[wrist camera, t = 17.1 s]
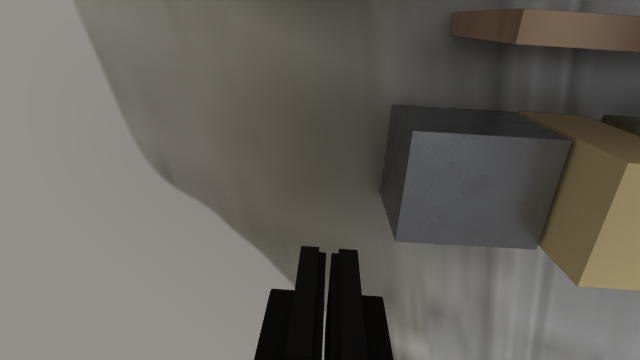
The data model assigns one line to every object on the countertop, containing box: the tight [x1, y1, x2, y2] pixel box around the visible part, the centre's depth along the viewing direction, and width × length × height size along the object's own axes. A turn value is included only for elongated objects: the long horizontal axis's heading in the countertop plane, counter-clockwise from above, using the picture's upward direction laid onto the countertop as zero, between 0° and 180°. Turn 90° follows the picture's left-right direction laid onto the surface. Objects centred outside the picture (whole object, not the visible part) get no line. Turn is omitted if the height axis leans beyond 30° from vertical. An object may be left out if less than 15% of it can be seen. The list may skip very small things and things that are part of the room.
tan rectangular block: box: [519, 111, 640, 290], centre depth 20 cm, size 4×6×9 cm, turn 176°
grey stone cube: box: [380, 105, 572, 249], centre depth 22 cm, size 8×6×6 cm
